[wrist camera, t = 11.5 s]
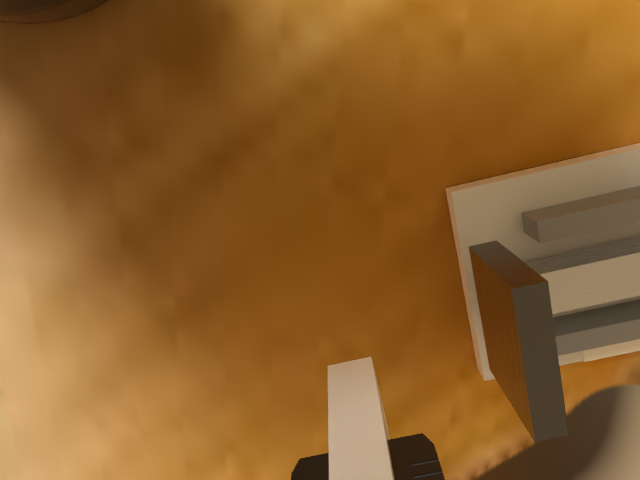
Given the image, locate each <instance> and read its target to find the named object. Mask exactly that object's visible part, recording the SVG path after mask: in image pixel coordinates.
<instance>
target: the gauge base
mask: <svg viewBox="0 0 640 480" xmlns="http://www.w3.org/2000/svg"><path fill="white" fill-rule="evenodd" d="M445 189H446V195H447V201H448V206H449V212H450V217H451V223H452V229H453V234H454V240H455V245H456V251H457V257H458V262H459V268H460V273H461V279H462V285H463V290H464V296H465V301H466V307H467V313H468V318H469V324H470V329H471V335H472V341H473V346H474V352H475V357H476V363H477V369H478V371H479V373H480V374H481V376H482V378H483V379H484V381H488V380H493V379H495V377H494V375H493V374H492V372H491V371H490V369H489V363H488V357H487V351H486V346H485V340H484V334H483V328H482V322H481V317H480V311H479V305H478V299H477V293H476V287H475V282H474V276H473V270H472V264H471V258H470V253H469V247H468V246H473V245H477V244H482V243H486V242H491V241H495V240H497V241H498V242H499V243H500V244H502V245H503V246H504V247H505V248H507V249H508V250H509V251H511V252H512V253H513V254H514V255H516V256H517V257H518V258H519V259H521V260H522V261H523V262H526V261H531V260H535V259H540V258H544V257H549V256H553V255H558V254H562V253H567V252H571V251H576V250H580V249H585V248H589V247H594V246H598V245H603V244H608V243H612V242H617V241H621V240H626V239H630V238H635V237H639V236H640V143H637V144H632V145H628V146H624V147H619V148H615V149H611V150H607V151H602V152H598V153H594V154H589V155H585V156H581V157H577V158H572V159H568V160H564V161H559V162H555V163H551V164H547V165H542V166H538V167H534V168H529V169H525V170H521V171H517V172H512V173H508V174H504V175H499V176H495V177H491V178H487V179H482V180H478V181H474V182H469V183H465V184H461V185H457V186H452V187H448V188H445ZM552 315H553V322H554V330H555V337H556V345H557V352H558V360H559V366H561V365H566V364H571V363H576V362H580V361H584V362H587V361H592V360H597V359H602V358H607V357H612V356H616V355H621V354H626V353H631V352H636V351H640V296H635V297H631V298H626V299H621V300H617V301H612V302H607V303H602V304H598V305H593V306H588V307H584V308H579V309H574V310H569V311H565V312H560V313H555V314H552Z"/></svg>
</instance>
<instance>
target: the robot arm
mask: <svg viewBox="0 0 640 480" xmlns="http://www.w3.org/2000/svg"><path fill="white" fill-rule="evenodd" d="M105 1H107V0H0V20H1V21H7V22H16V23H40V22H49V21H56V20H61V19H65V18H69V17H72V16H75V15H78V14H81V13H83V12H86V11H88V10H91V9H93V8H95V7H96V6H98V5H100V4H102V3H104V2H105ZM328 443H329V453H326V454H321V455H316V456H311V457H306V458H301V459H299V461H298V463H297V465H296V466H295V468H294V470H293V472H292V475H291V480H445V479H444V476H443V473H442V469H441V466H440V463H439V460H438V456H437V453H436V450H435V447H434V444H433V443H432V442H431V441H430V440H429V439H428V438H427V437H426V436H425V435H424V434H423V433H421V434H416V435H411V436H406V437H401V438H396V439H391V440H390V435H389V429H388V424H387V420H386V416H385V412H384V407H383V403H382V399H381V395H380V391H379V386H378V382H377V378H376V374H375V370H374V365H373V361H372V357H367V358H362V359H357V360H352V361H348V362H343V363H338V364H333V365H329V366H328Z"/></svg>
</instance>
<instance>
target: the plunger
mask: <svg viewBox="0 0 640 480" xmlns="http://www.w3.org/2000/svg"><path fill="white" fill-rule="evenodd" d="M468 247H469V253H470V258H471V264H472V270H473V276H474V282H475V287H476V293H477V299H478V305H479V311H480V317H481V322H482V328H483V334H484V340H485V346H486V351H487V357H488V363H489V369H490V371H491V372H492V374H493V375H494V377H495V379H496V380H497V382H498V384H499V385H500V387H501V388H502V390H503V392H504V393H505V395H506V396H507V398H508V400H509V401H510V403H511V404H512V406H513V408H514V409H515V411H516V412H517V414H518V416H519V417H520V419H521V421H522V422H523V424H524V425H525V427H526V429H527V430H528V432H529V433H530V435H531V437H532V438H533V440H534V441H535V442H538V441H543V440H548V439H553V438H558V437H563V436H568V428H567V421H566V413H565V405H564V397H563V390H562V382H561V375H560V367H559V360H558V352H557V345H556V337H555V330H554V322H553V315H552V314H555V313H560V312H565V311H569V310H574V309H579V308H584V307H588V306H593V305H598V304H602V303H607V302H612V301H617V300H621V299H626V298H631V297H635V296H640V236H639V237H635V238H630V239H626V240H621V241H617V242H612V243H608V244H603V245H598V246H594V247H589V248H585V249H580V250H576V251H571V252H567V253H562V254H558V255H553V256H549V257H544V258H540V259H535V260H531V261H526V262H523V261H522V260H521V259H519V258H518V257H517V256H516V255H514V254H513V253H512V252H511V251H509V250H508V249H507V248H505V247H504V246H503V245H502V244H500V243H499V242H498V241H497V240H495V241H491V242H486V243H482V244H477V245H473V246H468Z"/></svg>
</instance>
